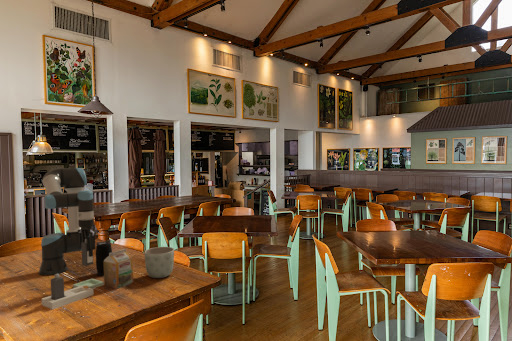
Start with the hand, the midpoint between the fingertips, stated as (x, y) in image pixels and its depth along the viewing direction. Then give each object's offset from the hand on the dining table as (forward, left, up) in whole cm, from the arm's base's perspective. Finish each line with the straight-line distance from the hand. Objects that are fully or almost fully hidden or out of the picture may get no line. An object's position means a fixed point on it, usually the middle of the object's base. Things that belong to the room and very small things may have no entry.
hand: (87, 261), depth 188 cm
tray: (0, 0, -14) cm, 14 cm away
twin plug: (+10, -21, -13) cm, 27 cm away
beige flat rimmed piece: (+10, -16, -14) cm, 24 cm away
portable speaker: (-11, +17, -14) cm, 25 cm away
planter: (+21, +32, -14) cm, 41 cm away
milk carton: (+13, +10, -14) cm, 22 cm away
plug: (0, 0, -2) cm, 2 cm away
